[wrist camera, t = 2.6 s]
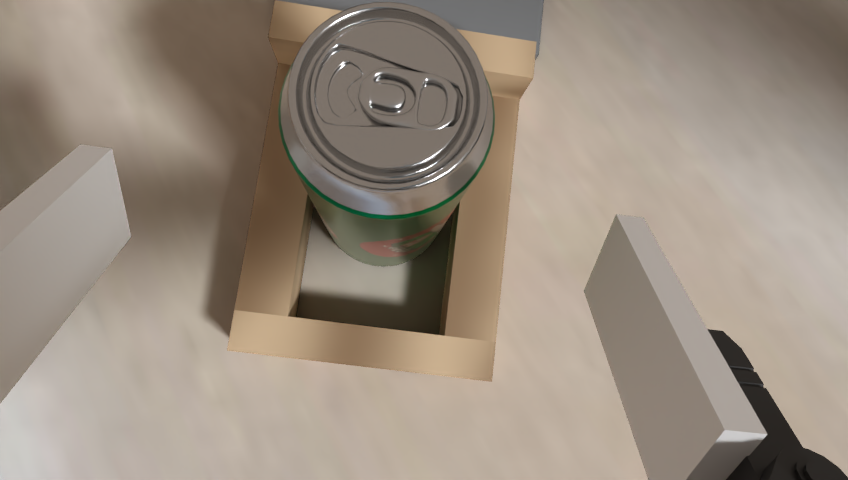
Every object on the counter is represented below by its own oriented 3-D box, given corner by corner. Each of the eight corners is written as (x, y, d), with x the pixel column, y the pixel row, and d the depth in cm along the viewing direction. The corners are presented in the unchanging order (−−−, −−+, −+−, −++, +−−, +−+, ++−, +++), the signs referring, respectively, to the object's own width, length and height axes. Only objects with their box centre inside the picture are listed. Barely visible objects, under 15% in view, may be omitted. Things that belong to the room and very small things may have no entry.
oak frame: (511, 86, 25) (536, 41, 21) (481, 376, 23) (503, 388, 19) (291, 53, 24) (274, 0, 20) (240, 347, 22) (210, 353, 18)
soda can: (336, 144, 24) (294, -37, 12) (449, 164, 24) (519, 8, 12) (314, 257, 23) (245, 186, 11) (432, 276, 23) (489, 228, 11)
